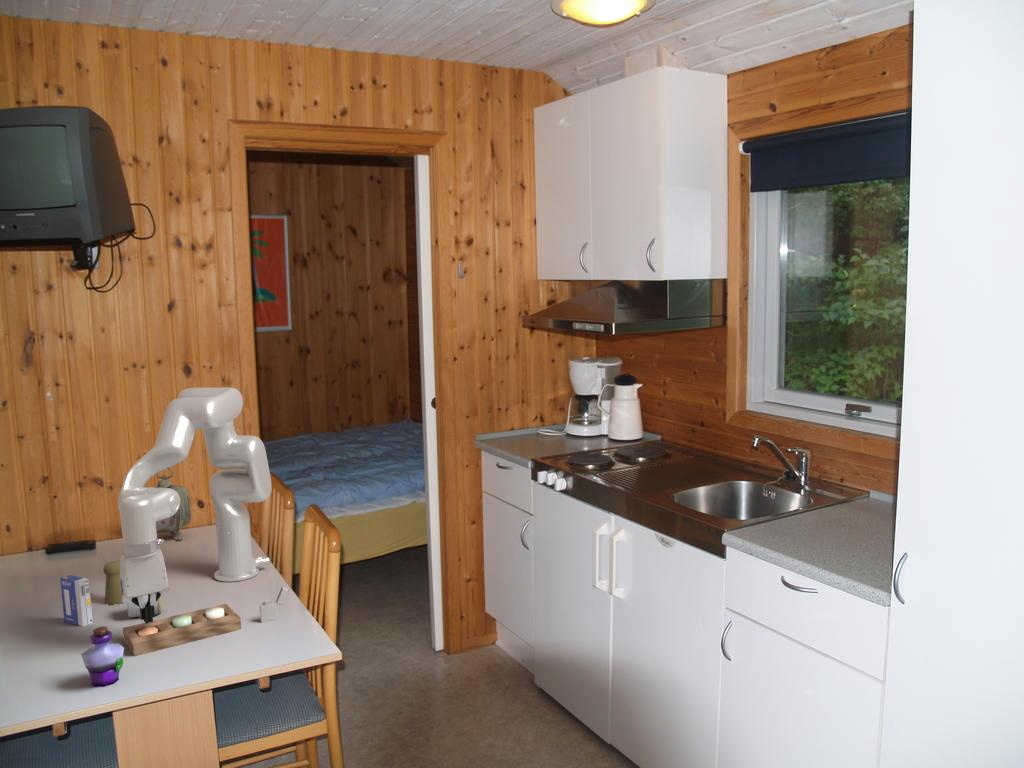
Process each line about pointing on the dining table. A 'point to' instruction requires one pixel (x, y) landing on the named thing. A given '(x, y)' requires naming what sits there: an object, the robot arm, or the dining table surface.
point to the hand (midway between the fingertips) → (148, 620)
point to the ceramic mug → (135, 610)
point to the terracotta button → (147, 631)
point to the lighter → (271, 607)
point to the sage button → (181, 621)
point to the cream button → (214, 613)
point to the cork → (112, 583)
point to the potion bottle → (103, 658)
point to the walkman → (76, 600)
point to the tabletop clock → (184, 511)
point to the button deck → (180, 630)
